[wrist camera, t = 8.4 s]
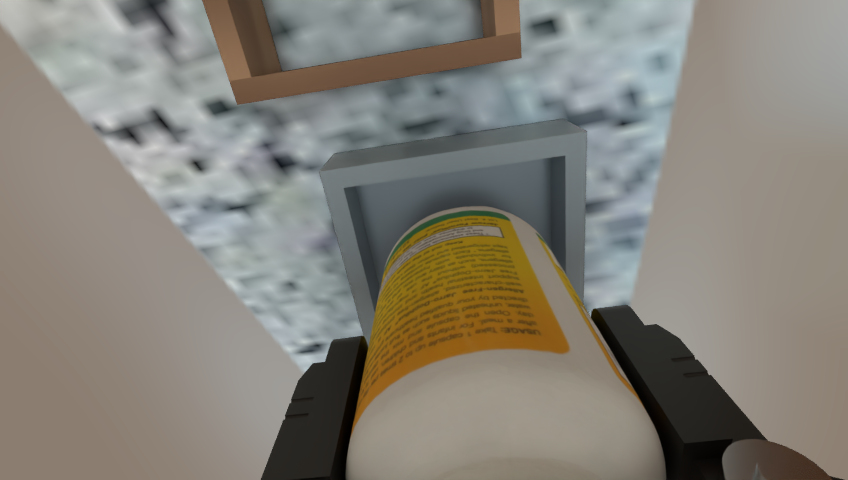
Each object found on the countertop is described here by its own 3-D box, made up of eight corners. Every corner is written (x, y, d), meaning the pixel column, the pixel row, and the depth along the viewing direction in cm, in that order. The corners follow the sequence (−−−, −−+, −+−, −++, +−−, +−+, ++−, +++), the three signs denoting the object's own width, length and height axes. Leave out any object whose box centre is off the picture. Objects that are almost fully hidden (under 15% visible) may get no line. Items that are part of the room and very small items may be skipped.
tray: (334, 153, 14) (319, 171, 12) (563, 118, 13) (587, 131, 11) (379, 336, 17) (374, 374, 15) (564, 314, 17) (582, 350, 15)
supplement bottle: (586, 253, 13) (936, 706, 4) (487, 366, 15) (577, 830, 6) (439, 165, 11) (480, 541, 3) (353, 301, 13) (224, 764, 5)
